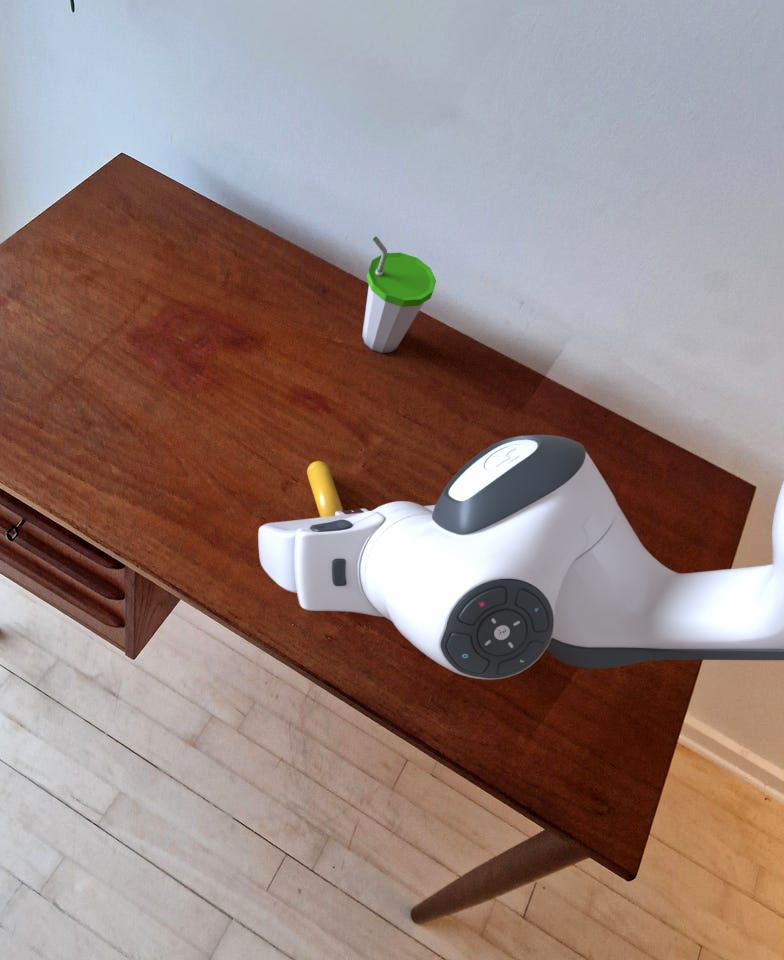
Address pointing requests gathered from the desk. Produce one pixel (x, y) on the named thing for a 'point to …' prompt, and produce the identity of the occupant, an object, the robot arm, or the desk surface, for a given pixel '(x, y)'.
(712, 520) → the desk surface
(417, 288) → the cup
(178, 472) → the desk surface
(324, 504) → the yellow lever knob
